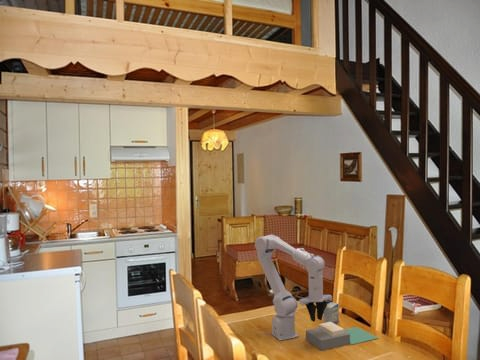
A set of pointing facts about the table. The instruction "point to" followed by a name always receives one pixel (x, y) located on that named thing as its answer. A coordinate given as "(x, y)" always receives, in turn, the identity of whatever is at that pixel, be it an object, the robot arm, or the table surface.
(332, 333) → the white flat block
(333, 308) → the medicine box
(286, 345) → the table surface
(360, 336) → the mat
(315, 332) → the block
